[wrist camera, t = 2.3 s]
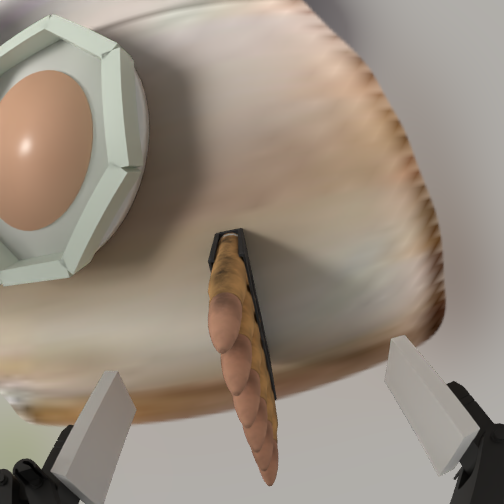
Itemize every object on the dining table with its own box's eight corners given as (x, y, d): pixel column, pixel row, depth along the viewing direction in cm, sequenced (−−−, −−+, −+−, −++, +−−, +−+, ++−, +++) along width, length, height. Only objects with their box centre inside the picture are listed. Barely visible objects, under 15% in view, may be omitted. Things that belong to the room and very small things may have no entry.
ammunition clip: (270, 358, 22) (291, 489, 11) (247, 362, 22) (254, 495, 11) (242, 227, 19) (247, 317, 8) (214, 233, 19) (180, 328, 8)
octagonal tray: (-5, 278, 19) (-30, 294, 15) (-25, 91, 14) (-51, 87, 10) (170, 251, 19) (154, 271, 15) (143, 4, 14) (126, -22, 10)
